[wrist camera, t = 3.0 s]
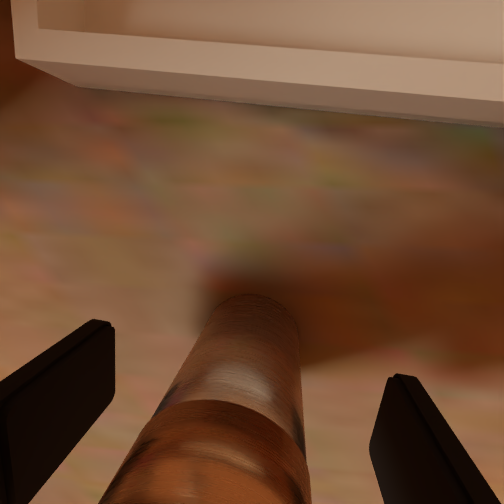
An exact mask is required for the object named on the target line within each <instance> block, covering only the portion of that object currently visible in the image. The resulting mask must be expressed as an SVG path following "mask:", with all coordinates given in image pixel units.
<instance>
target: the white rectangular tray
mask: <svg viewBox="0 0 504 504" xmlns="http://www.w3.org/2000/svg"><path fill="white" fill-rule="evenodd" d="M11 10H12V22H13V34H14V46H15V58H16V59H18V60H20V61H22V62H24V63H27V64H29V65H31V66H33V67H35V68H37V69H40V70H42V71H44V72H46V73H48V74H50V75H53V76H55V77H57V78H59V79H61V80H63V81H66V82H68V83H70V84H72V85H74V86H76V87H82V88H93V89H103V90H113V91H124V92H134V93H144V94H155V95H165V96H175V97H186V98H196V99H206V100H217V101H227V102H237V103H248V104H258V105H268V106H279V107H289V108H299V109H310V110H320V111H330V112H341V113H351V114H361V115H372V116H382V117H392V118H403V119H413V120H423V121H434V122H444V123H455V124H465V125H475V126H486V127H496V128H504V0H11Z"/></svg>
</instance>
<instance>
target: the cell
mask: <svg viewBox="0 0 504 504" xmlns="http://www.w3.org/2000/svg"><path fill="white" fill-rule="evenodd" d="M98 504H312V500H311V487H310V476H309V471H308V466H307V462H306V447H305V432H304V416H303V401H302V386H301V370H300V355H299V340H298V331H297V327H296V324H295V322H294V320H293V318H292V316H291V315H290V314H289V312H288V311H287V310H286V309H285V308H284V307H283V306H282V305H280V304H279V303H277V302H276V301H274V300H272V299H270V298H267V297H265V296H261V295H255V294H244V295H238V296H235V297H232V298H230V299H228V300H226V301H224V302H223V303H222V304H220V305H219V306H218V307H217V308H216V309H215V311H214V312H213V314H212V315H211V317H210V319H209V321H208V322H207V324H206V326H205V327H204V329H203V331H202V333H201V334H200V336H199V338H198V339H197V341H196V343H195V344H194V346H193V348H192V350H191V351H190V353H189V355H188V356H187V358H186V360H185V362H184V363H183V365H182V367H181V368H180V370H179V372H178V374H177V375H176V377H175V379H174V380H173V382H172V384H171V386H170V387H169V389H168V391H167V392H166V394H165V396H164V397H163V399H162V401H161V403H160V404H159V406H158V408H157V409H156V411H155V413H154V415H153V416H152V418H151V420H150V421H149V422H148V423H147V424H146V425H145V427H144V428H143V429H142V431H141V432H140V434H139V436H138V437H137V439H136V441H135V443H134V444H133V446H132V448H131V449H130V451H129V453H128V454H127V456H126V458H125V459H124V461H123V463H122V464H121V466H120V468H119V469H118V471H117V473H116V474H115V476H114V478H113V479H112V481H111V483H110V485H109V486H108V488H107V490H106V491H105V493H104V495H103V496H102V498H101V500H100V501H99V503H98Z"/></svg>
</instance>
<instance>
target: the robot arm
mask: <svg viewBox="0 0 504 504" xmlns="http://www.w3.org/2000/svg"><path fill="white" fill-rule="evenodd" d="M114 394H115V329H114V327H111V323H110V322H108V321H102V320H96V319H92V320H90V321H88V322H87V323H85V324H84V325H82V326H81V327H79V328H78V329H76V330H75V331H73V332H72V333H71V334H69V335H68V336H66V337H65V338H63V339H62V340H60V341H59V342H57V343H56V344H54V345H53V346H52V347H50V348H49V349H47V350H46V351H44V352H43V353H41V354H40V355H38V356H37V357H35V358H34V359H32V360H31V361H30V362H28V363H27V364H25V365H24V366H22V367H21V368H19V369H18V370H16V371H15V372H13V373H12V374H11V375H9V376H8V377H6V378H5V379H3V380H2V381H0V504H28V503H29V502H30V501H31V500H32V499H33V497H34V496H35V495H36V494H37V492H38V491H39V490H40V489H41V487H42V486H43V485H44V484H45V483H46V481H47V480H48V479H49V478H50V476H51V475H52V474H53V473H54V472H55V470H56V469H57V468H58V467H59V465H60V464H61V463H62V462H63V460H64V459H65V458H66V457H67V456H68V454H69V453H70V452H71V451H72V449H73V448H74V447H75V446H76V445H77V443H78V442H79V441H80V440H81V438H82V437H83V436H84V435H85V433H86V432H87V431H88V430H89V429H90V427H91V426H92V425H93V424H94V422H95V421H96V420H97V419H98V418H99V416H100V415H101V414H102V413H103V411H104V410H105V409H106V408H107V406H108V405H109V404H110V403H111V401H112V399H113V397H114ZM369 452H370V457H371V461H372V464H373V467H374V471H375V474H376V477H377V481H378V484H379V487H380V491H381V494H382V497H383V501H384V504H501V503H500V501H499V500H498V498H497V497H496V495H495V494H494V492H493V491H492V489H491V488H490V486H489V485H488V483H487V482H486V480H485V479H484V477H483V476H482V474H481V473H480V471H479V470H478V468H477V467H476V465H475V464H474V462H473V461H472V459H471V458H470V456H469V455H468V453H467V452H466V450H465V449H464V447H463V446H462V444H461V443H460V441H459V440H458V438H457V437H456V435H455V434H454V432H453V431H452V429H451V428H450V426H449V425H448V423H447V422H446V420H445V419H444V417H443V416H442V414H441V413H440V411H439V410H438V408H437V407H436V405H435V404H434V402H433V401H432V399H431V398H430V396H429V395H428V393H427V392H426V390H425V389H424V387H423V386H422V384H421V383H420V381H419V380H418V379H417V377H414V376H409V375H403V374H398V373H397V374H395V375H394V376H393V377H389V378H388V380H387V383H386V386H385V390H384V393H383V397H382V401H381V404H380V408H379V411H378V415H377V418H376V422H375V425H374V429H373V433H372V436H371V440H370V444H369Z"/></svg>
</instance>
